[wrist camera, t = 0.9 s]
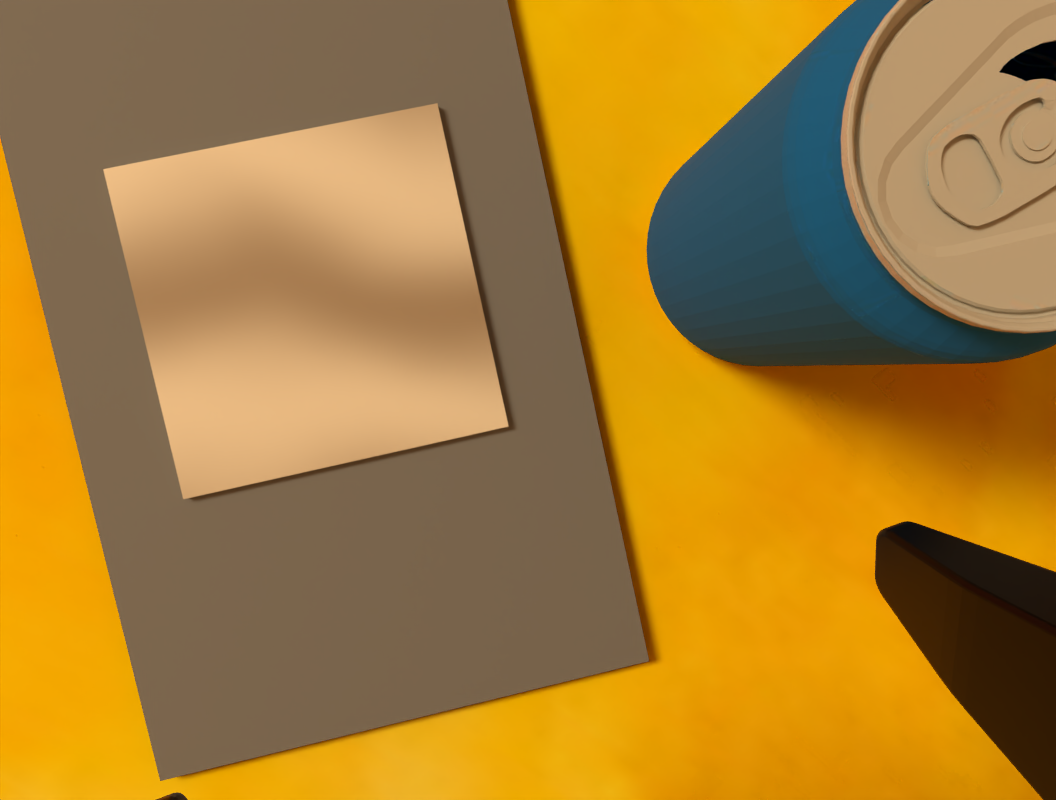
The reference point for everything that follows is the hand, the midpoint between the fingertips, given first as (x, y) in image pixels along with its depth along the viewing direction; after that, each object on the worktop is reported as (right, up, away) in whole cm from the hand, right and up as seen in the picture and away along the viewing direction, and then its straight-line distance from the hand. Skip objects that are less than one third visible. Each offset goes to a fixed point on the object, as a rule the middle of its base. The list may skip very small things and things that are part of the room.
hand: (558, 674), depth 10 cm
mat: (-6, +6, +13) cm, 16 cm away
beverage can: (+6, +8, +14) cm, 17 cm away
